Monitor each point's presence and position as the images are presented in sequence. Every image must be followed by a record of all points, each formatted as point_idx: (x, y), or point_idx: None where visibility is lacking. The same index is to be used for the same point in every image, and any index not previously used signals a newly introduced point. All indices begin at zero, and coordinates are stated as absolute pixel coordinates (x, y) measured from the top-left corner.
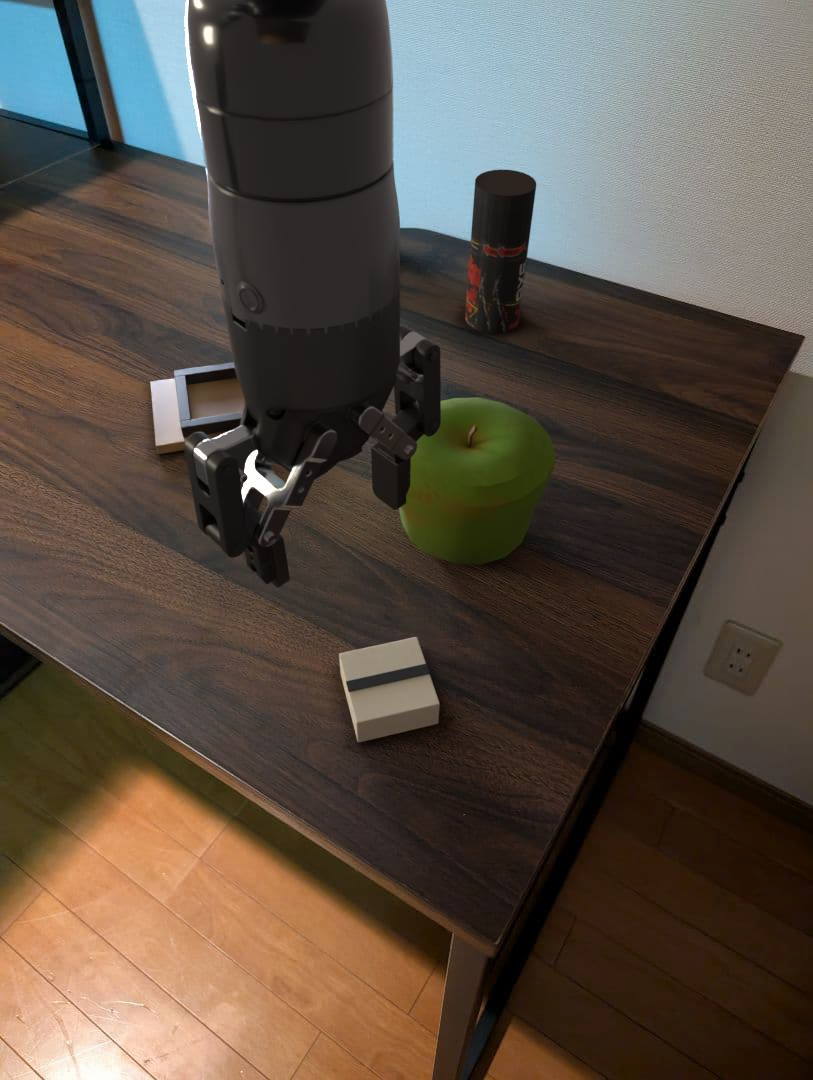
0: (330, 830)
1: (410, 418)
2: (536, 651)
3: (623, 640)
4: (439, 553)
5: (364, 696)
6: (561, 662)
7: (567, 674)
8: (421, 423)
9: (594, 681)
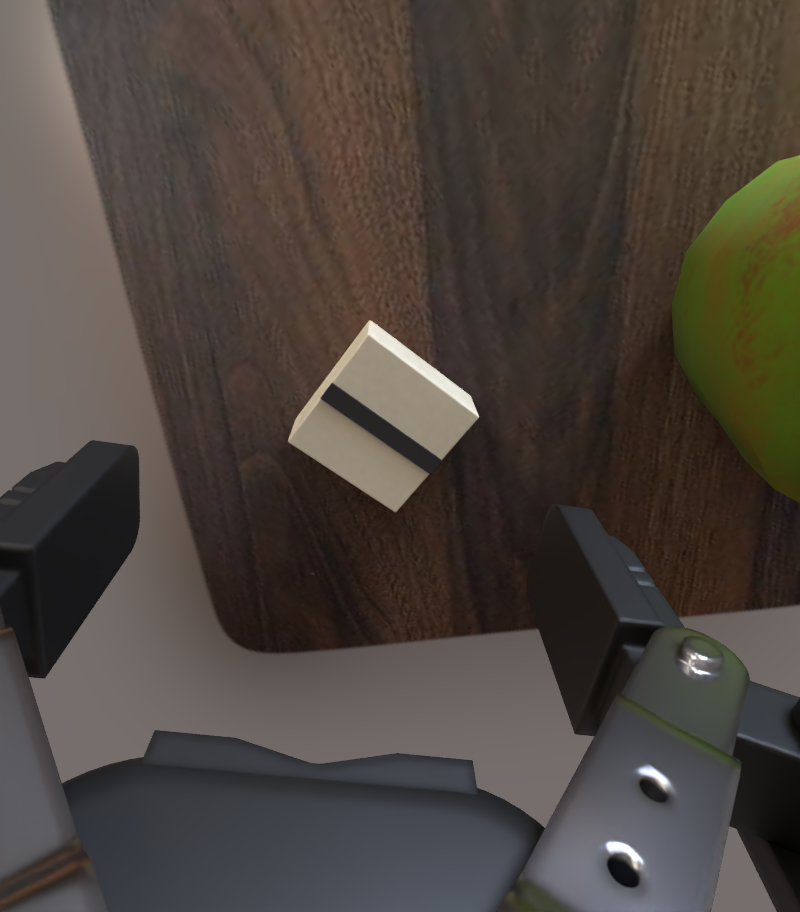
0: (178, 468)
1: (778, 813)
2: None
3: None
4: (676, 329)
5: (331, 422)
6: None
7: None
8: (764, 852)
9: None
